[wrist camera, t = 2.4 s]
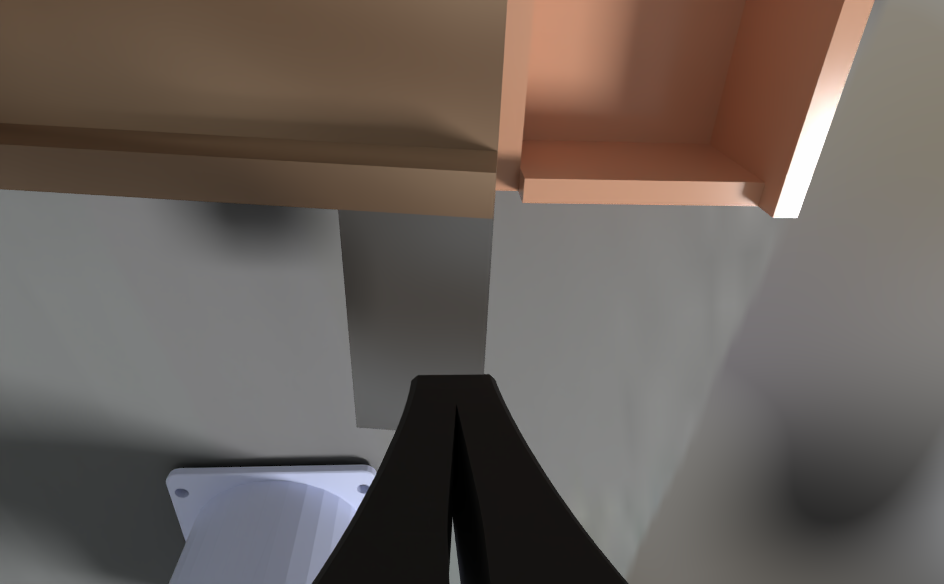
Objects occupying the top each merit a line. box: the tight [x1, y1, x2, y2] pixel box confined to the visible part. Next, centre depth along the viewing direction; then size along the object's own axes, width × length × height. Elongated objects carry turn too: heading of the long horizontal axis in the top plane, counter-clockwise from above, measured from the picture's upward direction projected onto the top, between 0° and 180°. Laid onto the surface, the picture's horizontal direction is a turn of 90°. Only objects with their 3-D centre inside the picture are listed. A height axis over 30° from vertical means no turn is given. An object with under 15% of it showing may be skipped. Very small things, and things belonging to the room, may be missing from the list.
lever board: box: [0, 0, 507, 430], centre depth 11 cm, size 13×14×2 cm
